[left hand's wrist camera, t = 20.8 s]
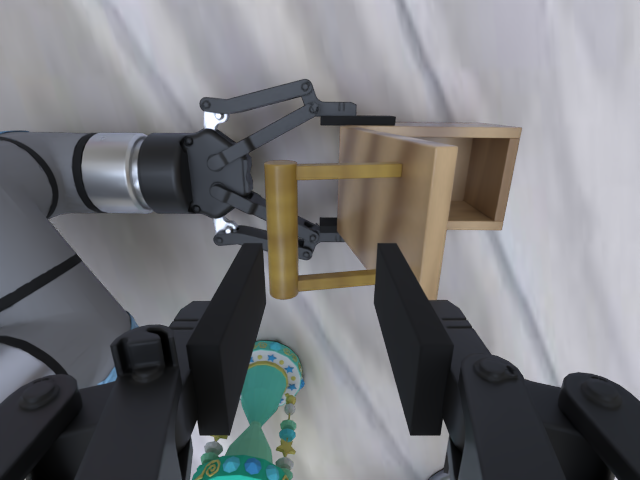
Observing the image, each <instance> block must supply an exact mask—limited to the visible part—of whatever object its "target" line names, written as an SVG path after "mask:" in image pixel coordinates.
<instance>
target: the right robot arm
mask: <svg viewBox="0 0 640 480" xmlns="http://www.w3.org/2000/svg"><path fill="white" fill-rule="evenodd" d="M298 97H302V100H303V102H304V105H305V106H303V107H301V108H299V109H297V110H296V111H294V112H292V113H290V114H288V115H287V116H285V117H283V118H281V119H279V120H278V121H276V122H274V123H272V124H270V125H269V126H267V127H265V128H263V129H261V130H260V131H258V132H256V133H254V134H252V135H251V136H249V137H247V138H245V139H243V140H241V141H240V142H238V143H236V142H234V141H233V140H232V139H230V138H229V137H227V136H226V135H225V134H223V133H222V132H221V131H219V130H218V129H217V128H218V125H219V124H220V123H222V122H226V121H228V119H229V114H233V113H240V112H244V111H248V110H252V109H256V108H260V107H263V106H267V105H271V104H275V103H279V102H283V101H286V100H290V99H294V98H298ZM356 106H357V105H356V104H354V103H352V102H322V101H320V100H318V99H317V97H316V95H315V92H314V89H313V86H312V83H311V82H310V81H309V80H307V79H303V80H299V81H295V82H291V83H287V84H284V85H280V86H276V87H272V88H268V89H265V90H261V91H257V92H253V93H249V94H246V95H242V96H238V97H234V98H231V99H220V98H209V97H204V98H202V99H201V100H200V108H201V109H202V110H203V111H204V129H202V130H200V131H199V132H197V133H151V134H150V135H146V134H144V133H90V134H87V133H53V132H29V131H2V132H0V403H2V402H3V401H4V400H5V399H6V398H7V397H8V396H9V395H10V394H12V393H13V392H15V391H16V390H17V389H19V388H20V387H21V386H23V385H26V384H28V383H30V382H32V381H33V380H36V379H38V378H42V377H45V376H49V375H56V374H65V375H71V376H72V377H74V378H75V379H76V380H77V383H78V387H79V389H83V388H87V387H92V386H97V385H101V384H106V383H109V382H113V381H115V380H116V378H117V373H116V369H115V365H114V361H113V357H112V353H111V348H110V345H111V344H112V342H113V341H114V340H115V339H116V338H117V337H119V336H120V335H122V334H123V333H125V332H127V331H129V330H132V329H134V328H137V327H139V326H138V325H137V324H136V322H135V320H134V318H133V317H132V316H131V314H130V313H129V312H127V311H125V310H124V309H123V308H122V306H121V305H120V304H119V303H118V302H117V301H116V300H115V298H114V297H113V296H112V295H111V294H110V293H109V291H108V290H107V289H106V288H105V287H104V286H103V285H102V283H101V282H100V281H99V280H98V279H97V278H96V277H95V275H94V274H93V273H92V272H91V271H90V270H89V268H88V267H87V266H86V265H85V264H84V263H83V262H82V260H81V259H80V257H79V256H78V255H77V254H76V252H75V251H74V250H73V249H72V248H71V246H70V245H69V244H68V243H67V242H66V241H65V239H64V238H63V237H62V236H61V235H60V233H59V232H58V231H57V230H56V229H55V227H54V226H53V225H52V224H51V223H50V222H49V220H48V219H50V218H52V217H55V216H57V215H60V214H65V213H144V214H149V213H151V212H153V211H154V212H156V213H161V214H204V215H206V216H208V217H210V218H213V221H214V226H215V231H216V235H215V236H214V238H213V241H214V243H215V244H216V245H218V246H223V245H234V244H239V245H243V243H263V250H264V251H268V240H267V231H266V230H262V229H257V228H253V227H249V226H242V225H237V223H236V222H235V221H232V220H228V219H227V218H226V216H225V215H226V214H227V213H229V212H230V211H231V210H233V209H234V208H237V209H239V210H241V211H243V212H245V213H247V214H251V215H255V216H257V217H259V218H261V219H263V220H265V221H267V217H266V199H264V198H262V197H261V196H260V195H259V194H257V193H255V192H253V191H252V189H253V181H252V178H251V175H250V170H251V165H252V162H251V157H250V156H249V154H248V153H249V152H251V151H253V150H255V149H256V148H258V147H260V146H262V145H264V144H265V143H267V142H269V141H271V140H273V139H275V138H276V137H278V136H280V135H282V134H284V133H286V132H287V131H289V130H291V129H293V128H295V127H297V126H298V125H300V124H302V123H304V122H306V121H308V120H309V119H311V118H313V117H315V116H321V125H382V126H395V119H396V117H394V116H356ZM298 237H299V238H301V239H299V238H298V259H303V260H309V259H311V257H312V254H313V251H314V249H315V246H316V245H317V244H318V243H320V242H345V241H344V239H343V238H342V237H341V236H340V234H339V233H338V232H337V218H321V217H320V226H319V225H318V224H317V223H316V225H315V224H313V223H311V222H309V221H307V220H305V219H303V218H301V217H299V216H298Z"/></svg>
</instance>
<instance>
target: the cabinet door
mask: <svg viewBox="0 0 640 480" xmlns="http://www.w3.org/2000/svg"><path fill="white" fill-rule="evenodd" d="M457 153H458V147H457V146H454V145H448V144H443V143H438V142H433V141H428V140H422V139H417V138H412V137H407V136H401V135H396V134H391V133H386V132H380V131H375V130H370V129H365V128H359V127H354V126H340V142H339V163H327V164H297V162H295V161H289V160H273V161H267V162H265V163H264V171H265V194H266V217H267V240H268V263H269V286H270V295H271V296H272V297H274V298H276V299H291V298H293V297H295V296H297V294H298V292H300V291H311V290H321V289H332V288H343V287H354V286H365V285H375V276H376V259H377V243H397V245H398V247H399V248H400V250H401V252H402V254H403V256H404V257H405V259H406V261H407V263H408V264H409V266H410V268H411V270H412V271H413V273H414V275H415V277H416V279H417V280H418V282H419V284H420V286H421V287H422V289H423V291H424V293H425V294H426V296H427V298H428V300H437V294H438V287H439V280H440V273H441V266H442V259H443V252H444V245H445V238H446V231H447V224H448V217H449V210H450V203H451V196H452V189H453V182H454V174H455V167H456V160H457ZM323 179H338V211H337V232H338V233H339V234H340V236H341V237H342V238H343V239H344V241H345V242H346V243H347V245H348V246H349V247H350V249H351V250H352V251H353V252H354V254H355V255H356V256H357V258H358V259H359V260H360V261H361V263H362V264H363V265H364V267H365V268H366V269H367V270H359V271H347V272H335V273H323V274H311V275H299V276H298V198H297V180H323Z"/></svg>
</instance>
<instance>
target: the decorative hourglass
mask: <svg viewBox="0 0 640 480" xmlns="http://www.w3.org/2000/svg"><path fill="white" fill-rule="evenodd" d="M304 384H305V383H304V381H303V378H302V366H301V364H300V361H299V358H298V356H297V355H296V354H295V353H294V352H293V351H292V350H291V349H290V348H289V347H286V346H284V345H282V344H280V343H278V342H273V341H263V340H262V341H257V342H255V345H254V349H253V353H252V356H251V360H250V363H249V367H248V371H247V374H246V378H245V382H244V385H243V389H242V392H241V396H240V400H241V403H242V407H243V410H244V412H245V414H246V417H247V419H248V422H249V424H250V426H249V427H248V428H247V429H246V430H245V431H244V432H243V433H242V434H241V435H240V436H239V437H238V438H237V439H236V440H235V441H234V442H233V443H232V444H231V445H230V446H229V448H228V450H227V452H226V454H225V456H222V457H218V455H219V454H220V453H221V452H222V451H223V448H222V446H221V445H220V444H219V443H218V442H217V441H218V439H219V438H223V439H227V437H228V436H227V435H210V436H213V437H214V439H215V441H213V442H209V443H207V444H206V445H205V446H204V447H205V452H206V453H205V454H203V455H202V456H201V462H202V465H200V466H199V467H198V468H197V472H196V473H195V474H194V475H193V478H192V480H291V479H292V478H293V475H292V472H290V470H291V469H292V467H293V462H292V461H291V460H290V459H289V458H287V457H286V456H287V454H295V452H296V451H295V450H294V449H293V448H292V447H291V445H292V442H293V441H292V440H293V439H294V438H295V437H296V435H295V432H294V430H295V428H296V423H295V422H294V421H292V420H290V415H292V414H293V413H294V412H295V406H294V404H295V402H296V399H295V395H296V394H297V392H298V391H299V390H300V389H301V388H302V387H303V386H304ZM285 403H286V404H287V405H286V406H285V413H286V414H287V415H289V418H288V420H284V421H283V422H282V423H281V424H280V426H281V429H282V430H281V432H280V433H279V436H280V438H281V445H280V446H278V447H277V449H276V450H277V451H280V452H283V455H284V457H283V458H280V459H278V460H277V461H276V465H274V464H273V463H272V453H271V449H270V447H269V444H268V442H267V440H266V438H265V436H264V433H263V431H262V429H261V426H262V425H263V424H264V423H265V422H266V421H267V420H268V419H269V418H270V417H271V416H272V415H273V414H274V413H275V412H276V410H277V409H278V406H282V405H284V404H285Z"/></svg>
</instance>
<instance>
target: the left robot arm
mask: <svg viewBox="0 0 640 480" xmlns="http://www.w3.org/2000/svg"><path fill="white" fill-rule="evenodd" d="M265 305H266V293H265V276H264V259H263V243H243V245H242V247H241V248H240V250H239V252H238V254H237V256H236V257H235V259H234V261H233V263H232V264H231V266H230V268H229V270H228V271H227V273H226V275H225V277H224V279H223V280H222V282H221V284H220V286H219V287H218V289H217V291H216V293H215V294H214V296H213V298H212V300H211V301H193V302H191V303H190V304H188V305H187V306H185V307H184V308H182V309H181V310H180V312H179V313H178V314H177V316H176V317H175V319H174V321H173V322H172V323H171V325H170V326H169V327H167V326H163V325H146V326H141V327H137V328H134V329H132V330H129V331H127V332H125V333H123V334H122V335H120V336H119V337H117V338H116V339H115V340H114V341H113V342H112V344H111V345H110V348H111V353H112V357H113V361H114V365H115V369H116V373H117V378H116V380H115V381H113V382H109V383H106V384H101V385H97V386H92V387H87V388H83V389H79V387H78V383H77V380H76V379H75V378H74V377H72V376H71V375H65V374H56V375H49V376H45V377H42V378H38V379H36V380H33V381H32V382H30V383H28V384H26V385H23V386H21V387H20V388H19V389H17V390H16V391H15V392H13V393H12V394H10V395H9V396H8V397H7V398H6V399H5V400H4V401H3V402H2V403H0V480H24V479H25V478H26V480H190V474H191V464H192V455H193V447H192V440H191V434H192V431H193V429H194V426H195V424H196V421H198V428H199V434H200V435H230V432H231V429H232V425H233V421H234V418H235V414H236V411H237V407H238V403H239V400H240V396H241V392H242V389H243V385H244V382H245V378H246V374H247V371H248V367H249V363H250V360H251V356H252V353H253V349H254V345H255V342H256V338H257V334H258V331H259V327H260V324H261V320H262V316H263V313H264V309H265ZM374 305H375V309H376V313H377V316H378V320H379V324H380V327H381V331H382V334H383V338H384V342H385V345H386V349H387V353H388V356H389V360H390V363H391V367H392V371H393V374H394V378H395V382H396V385H397V389H398V392H399V396H400V400H401V403H402V407H403V411H404V414H405V418H406V421H407V425H408V429H409V432H410V435H440V434H441V428H442V421H443V419H444V422H445V424H446V427H447V430H448V432H449V440H448V446H447V452H446V458H445V464H444V469H443V470H441V471H439V472H438V473H436V474H435V475H433V476H432V477H431V478H430V479H429V480H614V478H615V477H616V478H617V479H618V480H640V401H639V400H638V399H637V398H635V397H634V396H633V395H632V394H631V393H630V392H628V391H627V390H626V389H624V388H623V387H621V386H620V385H618V384H616V383H614V382H612V381H610V380H608V379H606V378H604V377H601V376H598V375H594V374H589V373H580V372H578V373H572V374H569V375H567V376H566V377H565V378H564V380H563V383H562V387H561V388H560V387H555V386H551V385H546V384H541V383H537V382H533V381H529V380H526V379H524V377H523V375H522V374H521V372H520V371H519V370H518V368H517V367H515V366H514V365H513V364H511V363H510V362H509V361H507V360H505V359H503V358H500V357H498V356H495V355H491V353H490V352H489V350H488V349H487V348H486V346H485V345H484V343H483V342H482V340H481V339H480V337H479V336H478V335H477V333H476V332H475V330H474V329H473V328H472V326H471V324H470V323H469V322H468V320H466V317H465V316H464V314H463V313H462V312H461V310H460V309H459V308H458V307H456V306H455V305H454V304H452V303H451V302H449V301H448V300H428V298H427V296H426V294H425V293H424V291H423V289H422V287H421V286H420V284H419V282H418V280H417V279H416V277H415V275H414V273H413V271H412V270H411V268H410V266H409V264H408V263H407V261H406V259H405V257H404V256H403V254H402V252H401V250H400V248H399V247H398V245H397V243H377V259H376V276H375V293H374Z"/></svg>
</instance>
